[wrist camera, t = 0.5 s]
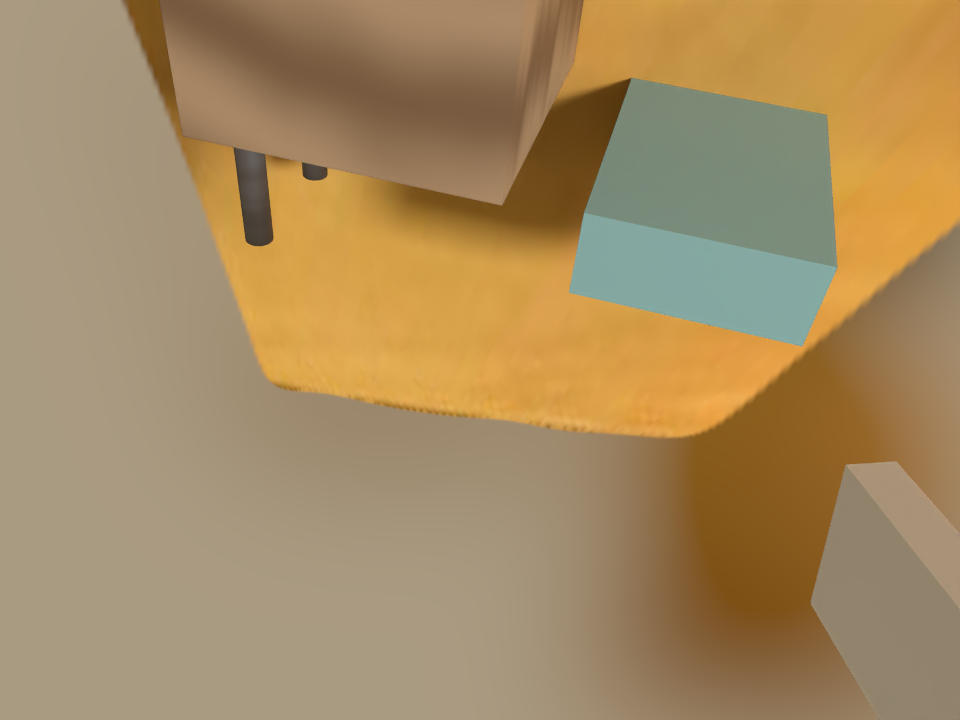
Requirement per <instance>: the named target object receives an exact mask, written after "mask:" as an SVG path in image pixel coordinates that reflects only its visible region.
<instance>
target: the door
mask: <svg viewBox="0 0 960 720" xmlns="http://www.w3.org/2000/svg"><path fill="white" fill-rule="evenodd" d="M836 270H837V255H836V240H835V226H834V211H833V196H832V182H831V167H830V152H829V138H828V123H827V115H825V114H819V113H814V112H809V111H804V110H798V109H793V108H788V107H782V106H777V105H772V104H767V103H761V102H756V101H751V100H746V99H740V98H735V97H730V96H724V95H719V94H714V93H709V92H703V91H698V90H693V89H688V88H682V87H677V86H672V85H666V84H661V83H656V82H651V81H645V80H640V79H635V78H632V79H631V82H630V84H629V87H628V90H627V93H626V96H625V99H624V101H623V104H622V107H621V110H620V113H619V116H618V118H617V121H616V124H615V127H614V130H613V132H612V135H611V138H610V141H609V144H608V147H607V149H606V152H605V155H604V158H603V161H602V164H601V166H600V169H599V172H598V175H597V178H596V180H595V183H594V186H593V189H592V192H591V195H590V197H589V200H588V203H587V206H586V209H585V212H584V216H583V221H582V226H581V232H580V237H579V242H578V248H577V253H576V258H575V264H574V269H573V274H572V280H571V285H570V290H569V293H573V294H577V295H581V296H586V297H590V298H594V299H599V300H603V301H607V302H612V303H616V304H620V305H625V306H629V307H633V308H638V309H642V310H646V311H651V312H655V313H659V314H664V315H668V316H672V317H677V318H681V319H685V320H690V321H694V322H698V323H703V324H707V325H711V326H716V327H720V328H724V329H729V330H733V331H738V332H742V333H746V334H751V335H755V336H759V337H764V338H768V339H772V340H777V341H781V342H785V343H790V344H794V345H798V346H803V344H804V341H805V339H806V337H807V335H808V332H809V330H810V328H811V326H812V323H813V321H814V319H815V317H816V314H817V312H818V310H819V308H820V305H821V303H822V301H823V299H824V296H825V294H826V292H827V290H828V287H829V285H830V283H831V281H832V279H833V276H834V274H835V272H836Z"/></svg>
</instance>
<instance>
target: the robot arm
mask: <svg viewBox="0 0 960 720" xmlns="http://www.w3.org/2000/svg"><path fill="white" fill-rule="evenodd" d="M811 605H812V607H813V608H814V610H815V611H816V613H817V615H818V617H819V619H820V620H821V622H822V624H823V625H824V627H825V629H826V630H827V632H828V634H829V635H830V637H831V639H832V641H833V642H834V644H835V646H836V647H837V649H838V651H839V653H840V654H841V656H842V658H843V659H844V661H845V662H846V664H847V666H848V668H849V670H850V671H851V673H852V675H853V676H854V678H855V680H856V681H857V683H858V685H859V687H860V688H861V690H862V692H863V693H864V695H865V697H866V699H867V700H868V702H869V704H870V705H871V707H872V709H873V710H874V712H875V714H876V716H877V717H878V719H879V720H960V534H959V532H958V531H957V530H956V529H955V528H954V527H953V526H952V524H951V523H950V522H949V521H948V520H947V519H946V518H945V517H944V515H943V514H942V513H941V512H940V511H939V510H938V509H937V507H936V506H935V505H934V504H933V503H932V502H931V501H930V499H928V497H927V496H926V495H925V494H924V493H923V492H922V490H921V489H920V488H919V487H918V486H917V485H916V484H915V482H914V481H913V480H912V479H911V478H910V477H909V476H908V475H907V473H906V472H905V471H904V470H903V469H902V468H901V467H900V465H899V464H898V463H897V462H882V463H868V464H867V463H866V464H850V465H846V467H845V470H844V474H843V478H842V482H841V486H840V490H839V494H838V498H837V502H836V506H835V509H834V513H833V517H832V521H831V525H830V529H829V533H828V537H827V541H826V544H825V548H824V553H823V556H822V560H821V564H820V568H819V572H818V576H817V580H816V584H815V588H814V592H813V595H812V599H811Z"/></svg>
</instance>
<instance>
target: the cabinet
mask: <svg viewBox="0 0 960 720" xmlns="http://www.w3.org/2000/svg"><path fill="white" fill-rule="evenodd" d="M159 2H160V8H161V14H162V20H163V25H164V31H165V37H166V43H167V48H168V54H169V60H170V66H171V72H172V77H173V83H174V89H175V95H176V101H177V106H178V112H179V118H180V124H181V130H182V135H183V136H184V137H189V138H193V139H198V140H202V141H207V142H212V143H216V144H221V145H225V146H230V147H234V154H235V162H236V169H237V177H238V185H239V193H240V200H241V208H242V216H243V223H244V231H245V239H246V242H247V243H248V244H250V245H253V246H264V245H267V244H269V243H271V242H272V241H273V228H272V219H271V209H270V199H269V190H268V180H267V170H266V160H265V154H267V155H271V156H276V157H281V158H285V159H290V160H294V161H299V162H302V170H303V176H304V177H305V178H306V179H308V180H322V179H324V178H326V177H327V168H331V169H336V170H340V171H345V172H349V173H354V174H359V175H363V176H368V177H372V178H377V179H382V180H386V181H391V182H395V183H400V184H405V185H409V186H414V187H418V188H423V189H428V190H432V191H437V192H441V193H446V194H451V195H455V196H460V197H464V198H469V199H474V200H478V201H483V202H487V203H492V204H497V205H501V206H502V205H503V203H504V201H505V199H506V197H507V195H508V193H509V191H510V189H511V187H512V185H513V183H514V181H515V179H516V177H517V175H518V173H519V171H520V169H521V167H522V165H523V163H524V161H525V159H526V157H527V155H528V153H529V151H530V149H531V147H532V145H533V143H534V141H535V139H536V137H537V135H538V133H539V131H540V129H541V127H542V125H543V123H544V121H545V119H546V117H547V115H548V113H549V111H550V109H551V107H552V105H553V103H554V101H555V99H556V97H557V95H558V93H559V91H560V89H561V87H562V85H563V83H564V81H565V79H566V77H567V75H568V73H569V71H570V69H571V67H572V65H573V63H574V58H575V52H576V45H577V39H578V32H579V26H580V20H581V13H582V7H583V0H159Z"/></svg>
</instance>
